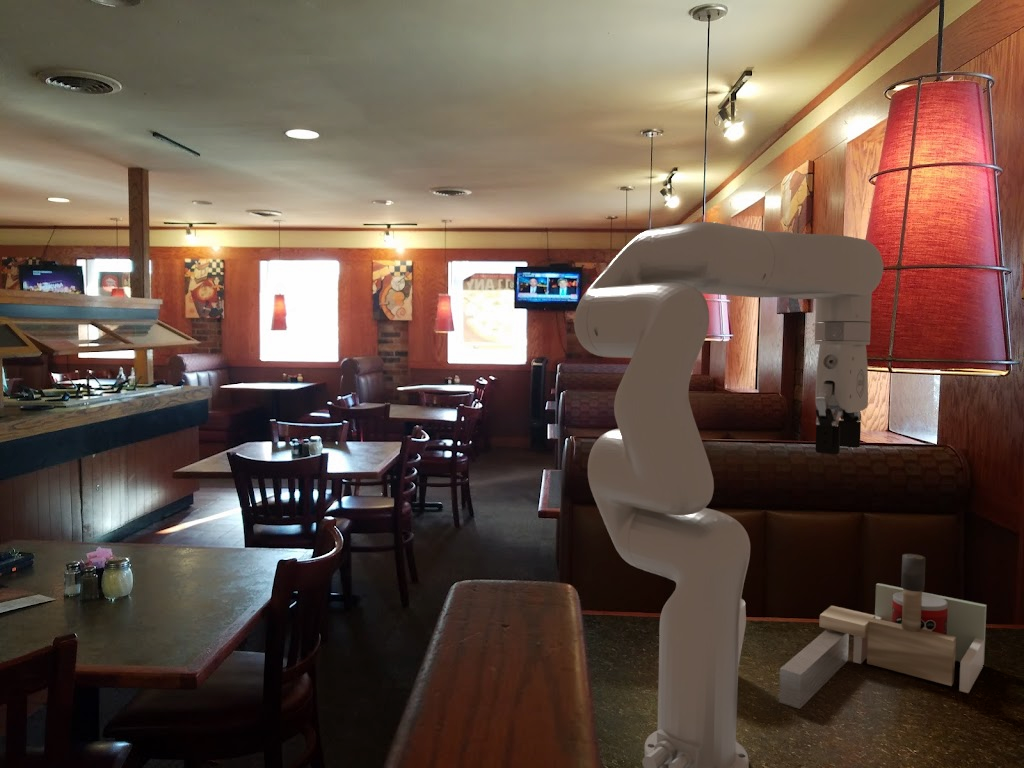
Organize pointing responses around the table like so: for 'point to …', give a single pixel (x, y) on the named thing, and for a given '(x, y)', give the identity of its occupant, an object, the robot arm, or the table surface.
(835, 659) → the rail
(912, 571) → the kicker figure
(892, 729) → the table surface
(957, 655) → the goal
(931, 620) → the canned food
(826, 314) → the robot arm
